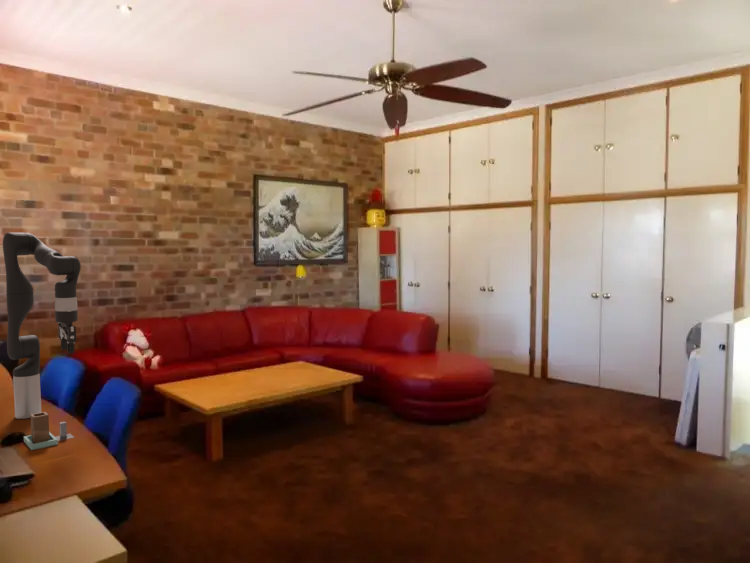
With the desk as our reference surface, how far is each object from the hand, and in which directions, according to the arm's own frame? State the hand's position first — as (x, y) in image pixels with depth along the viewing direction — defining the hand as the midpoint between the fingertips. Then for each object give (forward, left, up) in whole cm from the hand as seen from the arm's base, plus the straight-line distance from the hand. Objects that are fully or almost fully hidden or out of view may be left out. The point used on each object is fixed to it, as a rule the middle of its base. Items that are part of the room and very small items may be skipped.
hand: (67, 351), depth 211 cm
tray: (+12, -13, -30) cm, 35 cm away
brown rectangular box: (+12, -13, -29) cm, 34 cm away
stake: (+11, -5, -30) cm, 32 cm away
